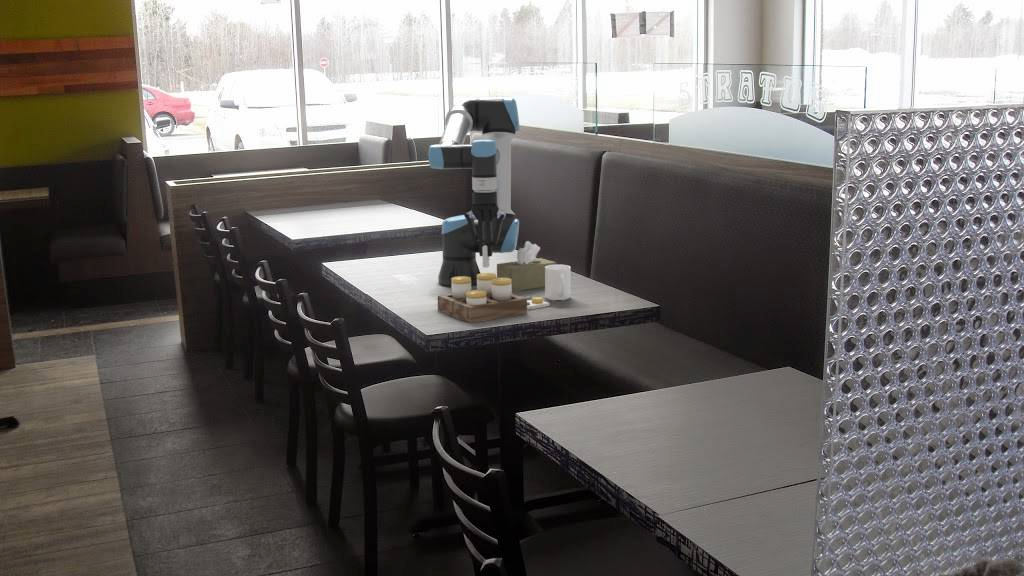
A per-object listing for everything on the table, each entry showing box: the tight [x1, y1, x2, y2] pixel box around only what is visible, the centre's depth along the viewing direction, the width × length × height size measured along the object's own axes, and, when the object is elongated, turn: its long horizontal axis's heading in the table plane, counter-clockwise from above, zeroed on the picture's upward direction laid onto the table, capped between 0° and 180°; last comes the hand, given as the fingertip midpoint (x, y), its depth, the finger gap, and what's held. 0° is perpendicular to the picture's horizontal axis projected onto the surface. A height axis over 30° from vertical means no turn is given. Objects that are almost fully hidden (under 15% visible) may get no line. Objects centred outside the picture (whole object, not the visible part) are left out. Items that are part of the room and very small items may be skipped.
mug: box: [544, 264, 572, 301], centre depth 316 cm, size 12×8×10 cm
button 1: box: [451, 276, 472, 300], centre depth 302 cm, size 6×6×6 cm
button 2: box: [466, 289, 487, 306], centre depth 295 cm, size 6×6×6 cm
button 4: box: [492, 277, 513, 301], centre depth 299 cm, size 6×6×6 cm
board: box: [437, 289, 528, 324], centre depth 302 cm, size 20×20×5 cm
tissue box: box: [496, 240, 557, 292], centre depth 337 cm, size 19×10×16 cm, turn 122°
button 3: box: [476, 272, 497, 296], centre depth 307 cm, size 6×6×6 cm
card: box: [522, 295, 550, 311], centre depth 310 cm, size 12×10×2 cm
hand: (486, 266), depth 305 cm, fingers closed
